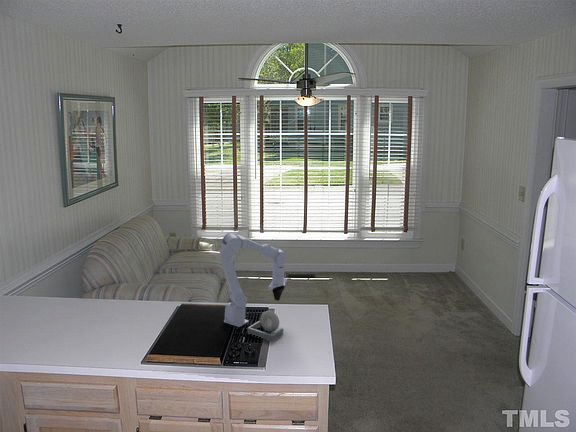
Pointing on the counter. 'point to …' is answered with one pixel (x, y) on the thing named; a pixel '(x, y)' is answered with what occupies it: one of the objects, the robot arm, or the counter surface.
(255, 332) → the bracket
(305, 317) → the counter surface
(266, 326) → the donut
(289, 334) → the counter surface
